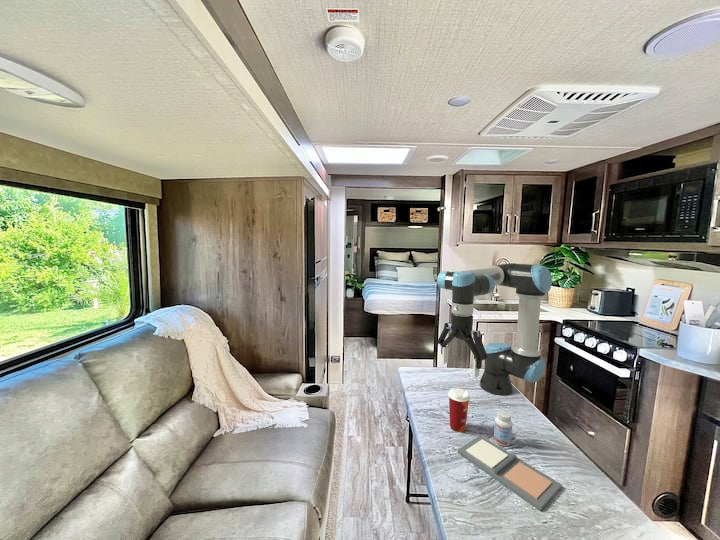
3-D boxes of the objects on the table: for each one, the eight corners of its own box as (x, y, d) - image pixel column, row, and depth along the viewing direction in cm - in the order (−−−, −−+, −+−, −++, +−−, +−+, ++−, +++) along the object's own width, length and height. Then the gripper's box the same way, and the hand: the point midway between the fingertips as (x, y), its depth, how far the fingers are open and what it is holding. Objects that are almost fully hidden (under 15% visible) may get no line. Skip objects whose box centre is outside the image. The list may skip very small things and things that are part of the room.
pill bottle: (491, 441, 113) (492, 413, 112) (496, 433, 117) (498, 407, 116) (508, 449, 109) (510, 420, 108) (513, 441, 113) (515, 413, 112)
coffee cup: (469, 435, 116) (471, 399, 115) (447, 432, 118) (449, 396, 116) (466, 422, 125) (468, 388, 123) (446, 419, 126) (447, 386, 124)
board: (480, 437, 115) (480, 432, 115) (561, 487, 92) (562, 481, 92) (457, 452, 107) (457, 446, 107) (540, 511, 84) (540, 504, 84)
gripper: (429, 308, 117) (427, 360, 119) (487, 323, 96) (484, 385, 99) (441, 306, 121) (440, 356, 123) (500, 320, 101) (497, 379, 103)
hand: (459, 369), depth 111 cm, fingers open, 13 cm apart
